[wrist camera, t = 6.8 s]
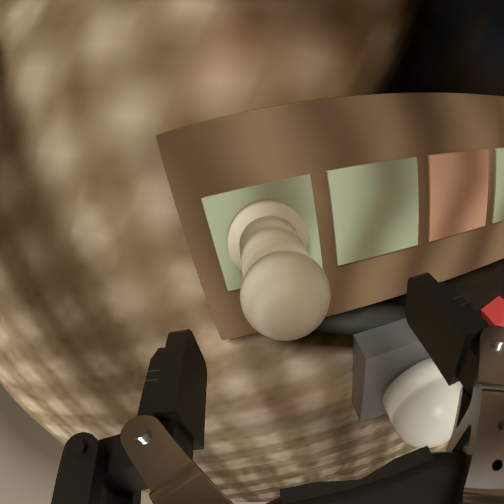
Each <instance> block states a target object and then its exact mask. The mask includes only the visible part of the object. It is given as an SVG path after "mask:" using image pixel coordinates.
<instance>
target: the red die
mask: <svg viewBox="0 0 504 504" xmlns="http://www.w3.org/2000/svg"><path fill="white" fill-rule="evenodd" d="M480 315H481V316H482V318H483V319H484V320H485V321H486V322H487V323H488V324H489V325H490V326H494V325H498V326H503V327H504V300H503V299H502V298H501V297H500V296H498V297H497V298H496V299H494V300H493V301H492V302H490V303H489V304H488V305H486V306H485V307H484V308H482V309H481V313H480Z"/></svg>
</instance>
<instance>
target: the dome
mask: <svg viewBox="0 0 504 504" xmlns="http://www.w3.org/2000/svg"><path fill="white" fill-rule="evenodd" d="M461 387H462V384H461V383H460V381H458V382H456V383H454V384H452V385H450V386H449V385H448V384H447V382H446V380H445V379H444V377H443V376H442V374H441V373H440V371H439V369H438V368H437V366H436V365H435V363H434V362H433V360H432V359H431V358H429V359H426V360H423V361H421V362H419V363H417V364H415V365H413V366H412V367H410V368H409V369H407V370H406V371H404V372H403V373H402V374H401V375H399V376H398V377H397V378H396V379H395V380H394V381H393V382H392V383H391V384H390V386H389V387H388V388H387V390H386V391H385V393H384V395H383V400H382V402H383V405H384V407H385V410H386V412H387V414H388V416H389V419H390V421H391V423H392V424H394V426H395V429H396V431H397V433H398V435H399V436H400V437H401V438H402V439H403V440H404V441H405V442H406V443H408V444H410V445H412V446H415V447H419V448H423V447H425V446H428V448H431V447H435V446H438V445H441V444H443V443H445V442H447V441H448V440H449V439H450V438H451V435H452V432H453V427H454V423H455V418H456V413H457V407H458V401H459V395H460V390H461Z"/></svg>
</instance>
